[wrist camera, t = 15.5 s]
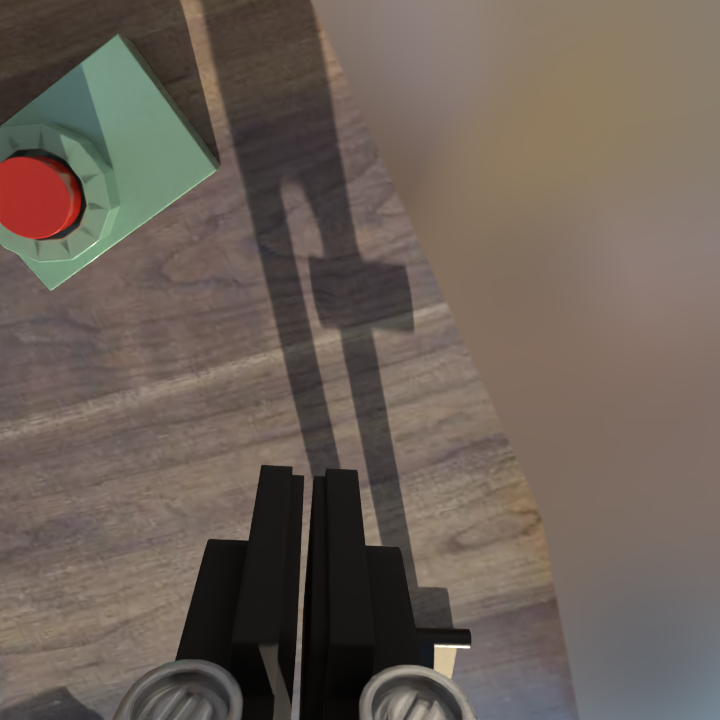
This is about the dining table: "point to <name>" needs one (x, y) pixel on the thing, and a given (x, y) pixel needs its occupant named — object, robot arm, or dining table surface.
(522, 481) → the dining table surface
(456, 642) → the lever
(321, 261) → the dining table surface
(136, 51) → the button box
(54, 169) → the button
